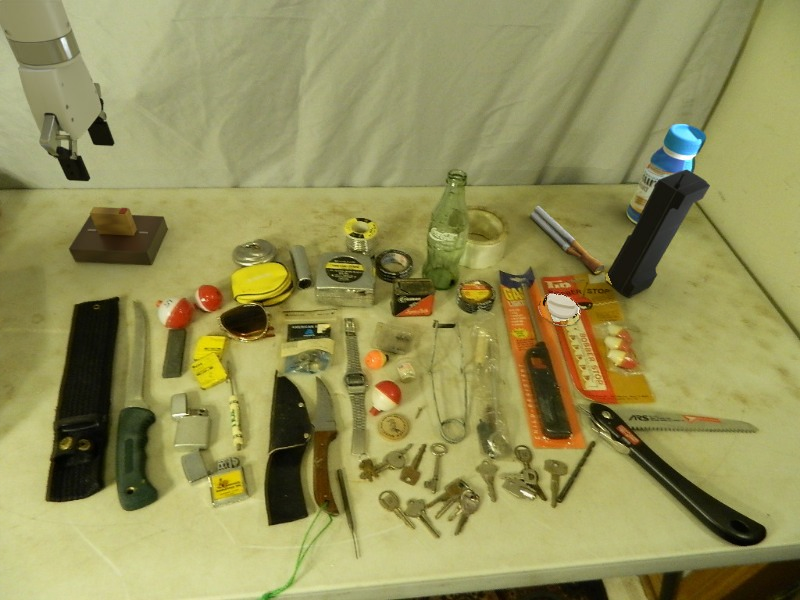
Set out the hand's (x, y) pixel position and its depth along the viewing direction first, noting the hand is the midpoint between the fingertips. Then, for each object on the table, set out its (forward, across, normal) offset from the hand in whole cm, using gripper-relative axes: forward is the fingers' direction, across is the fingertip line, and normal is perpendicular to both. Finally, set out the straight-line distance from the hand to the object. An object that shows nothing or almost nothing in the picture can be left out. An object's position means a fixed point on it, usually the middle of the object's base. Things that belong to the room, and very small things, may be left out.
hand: (92, 161), depth 81 cm
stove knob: (+19, +10, +76) cm, 79 cm away
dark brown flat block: (+19, -2, -2) cm, 19 cm away
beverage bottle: (+20, -19, +101) cm, 105 cm away
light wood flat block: (+16, -2, -2) cm, 16 cm away
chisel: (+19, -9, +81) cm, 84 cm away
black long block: (+19, +1, +91) cm, 93 cm away
